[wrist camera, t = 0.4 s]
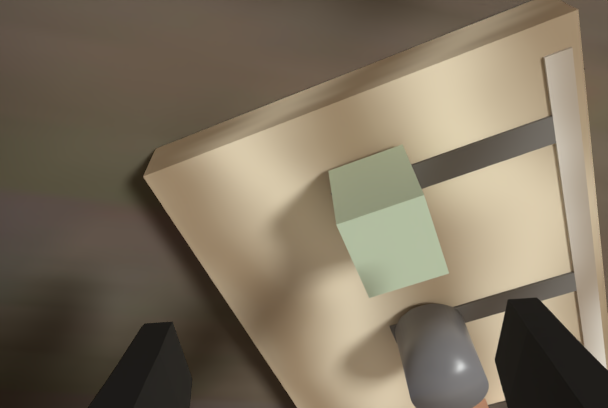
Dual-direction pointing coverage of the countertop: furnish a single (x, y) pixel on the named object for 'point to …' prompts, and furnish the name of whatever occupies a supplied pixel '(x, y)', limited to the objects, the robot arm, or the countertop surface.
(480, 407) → the matte peach cube
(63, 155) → the countertop surface
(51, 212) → the countertop surface
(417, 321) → the charcoal knob
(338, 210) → the matte mint cube
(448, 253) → the control board
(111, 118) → the countertop surface
